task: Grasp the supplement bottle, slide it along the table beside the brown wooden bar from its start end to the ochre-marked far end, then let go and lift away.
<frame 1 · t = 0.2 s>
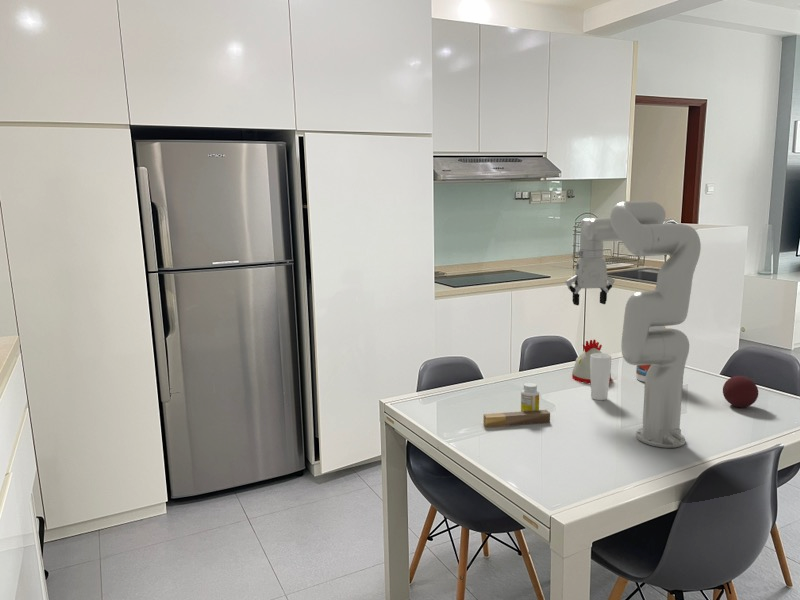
hand: (589, 304, 206), 31 cm above the table, fingers open, 9 cm apart
supplement bottle: (529, 416, 187), on the table
white and red dome: (591, 379, 225), on the table
drinking glass: (599, 398, 202), on the table
fruit juice: (649, 380, 222), on the table
brown wooden bar: (516, 423, 181), on the table
decorative ball: (739, 407, 192), on the table
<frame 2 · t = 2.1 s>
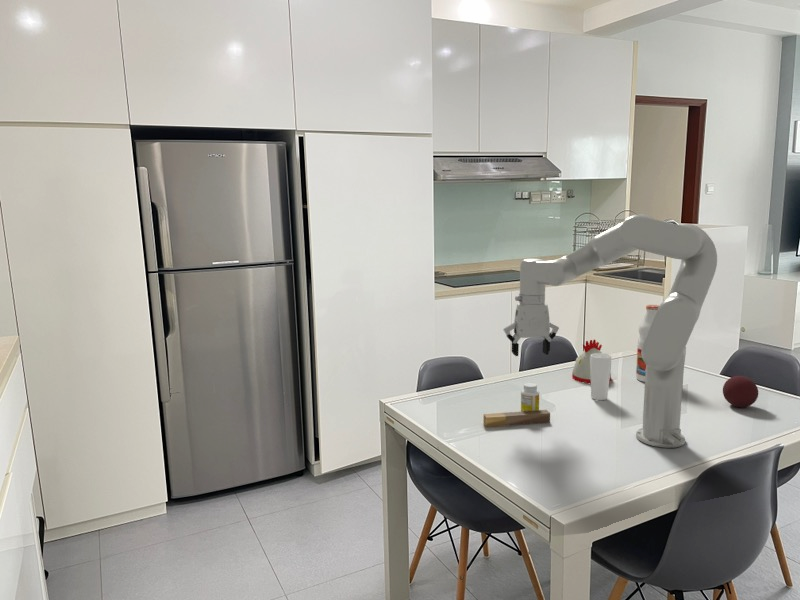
hand: (530, 354, 184), 20 cm above the table, fingers open, 9 cm apart
nothing on the table moved.
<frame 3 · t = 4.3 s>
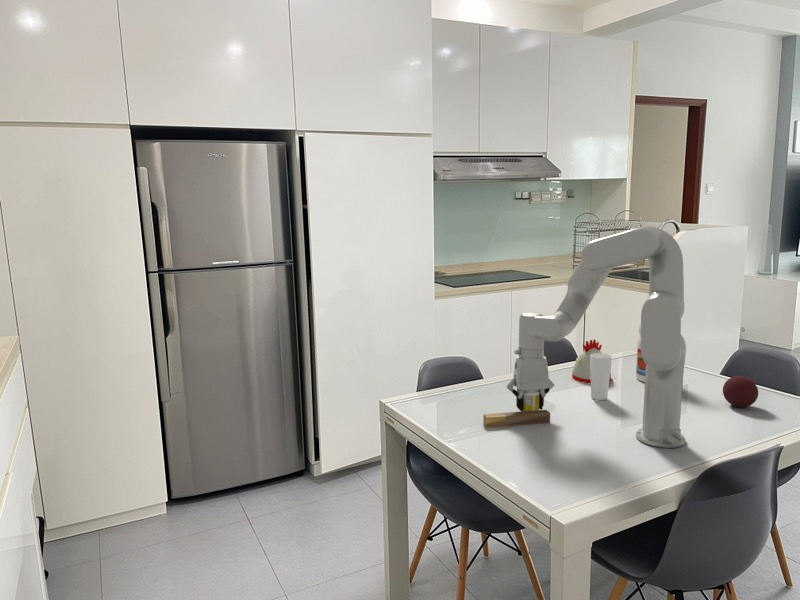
hand: (529, 408, 186), 3 cm above the table, fingers closed on supplement bottle, 5 cm apart
supplement bottle: (529, 416, 187), on the table, touching gripper
everything else where it was.
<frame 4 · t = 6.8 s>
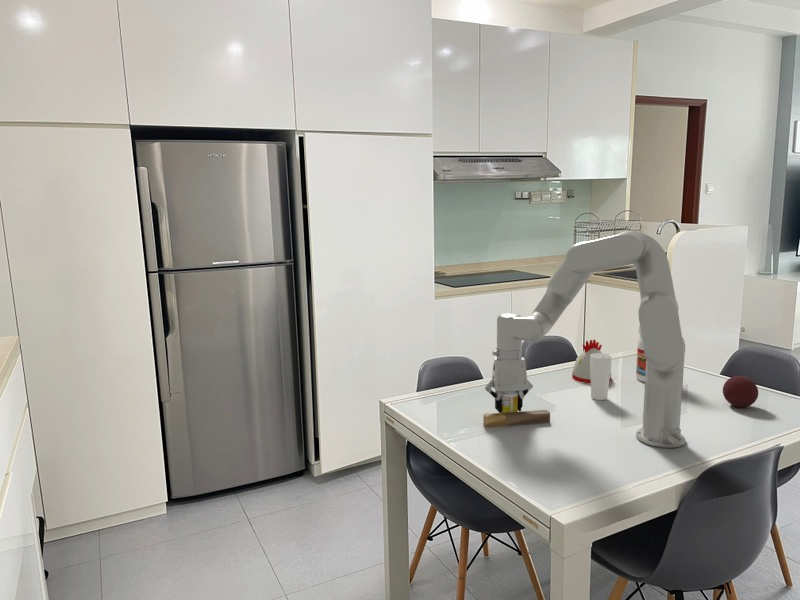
hand: (508, 409, 185), 2 cm above the table, fingers closed on supplement bottle, 5 cm apart
supplement bottle: (508, 418, 186), on the table, touching gripper
everything else where it was.
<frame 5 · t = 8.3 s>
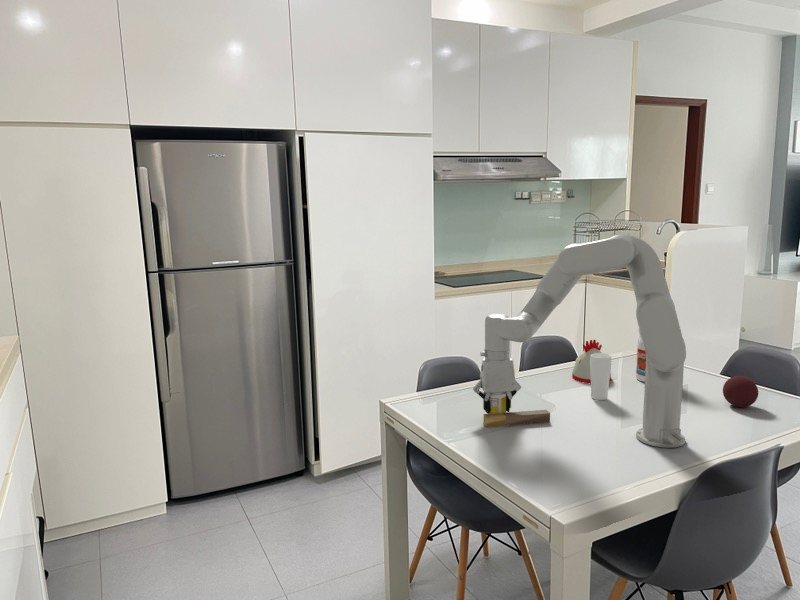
hand: (497, 410, 185), 2 cm above the table, fingers closed on supplement bottle, 5 cm apart
supplement bottle: (496, 418, 185), on the table, touching gripper
everything else where it was.
when the fingers open (2 cm above the table, at t = 8.9 s): supplement bottle stays where it is, on the table.
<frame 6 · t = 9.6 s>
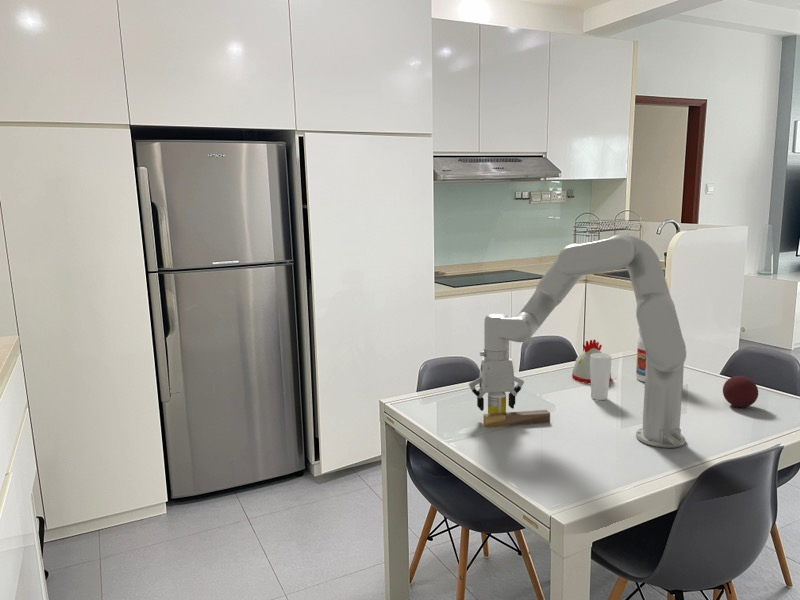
hand: (496, 408, 184), 3 cm above the table, fingers open, 9 cm apart
supplement bottle: (496, 418, 185), on the table
everything else where it was.
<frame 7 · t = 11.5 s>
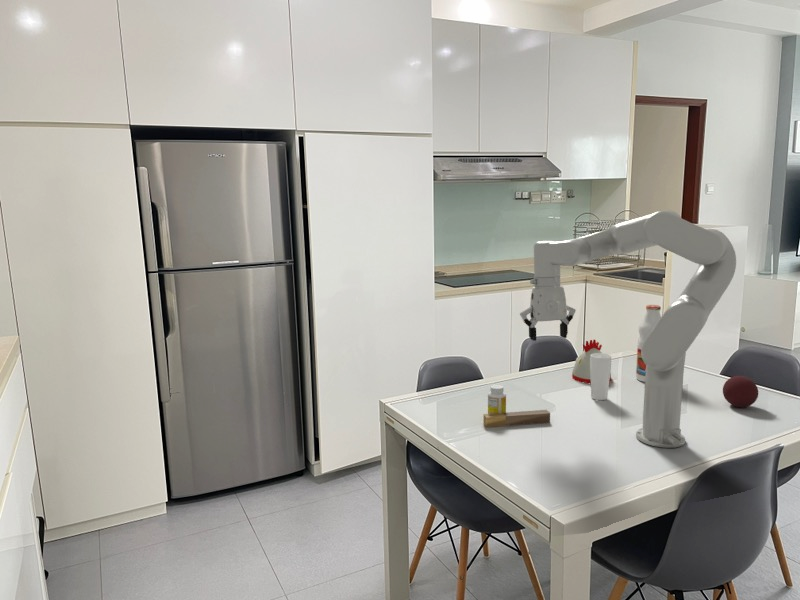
hand: (548, 338, 180), 25 cm above the table, fingers open, 9 cm apart
nothing on the table moved.
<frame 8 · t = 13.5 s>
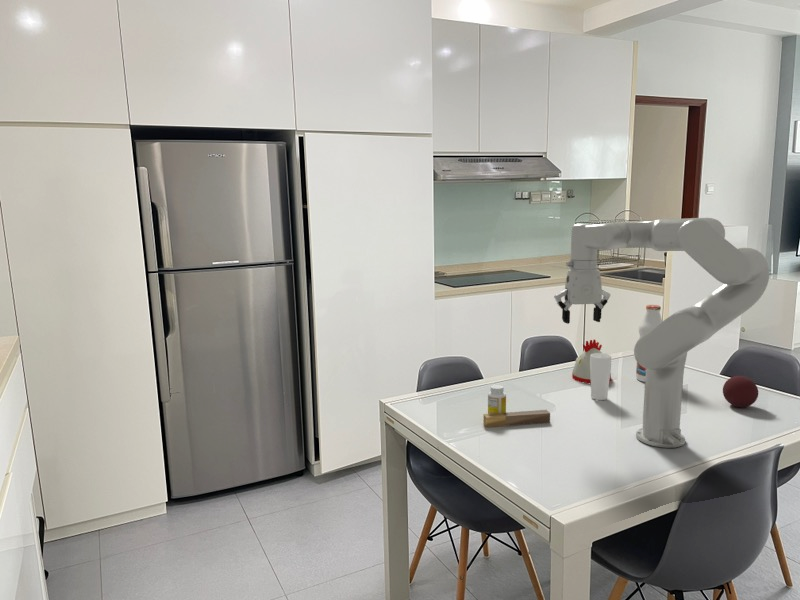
hand: (581, 322, 179), 30 cm above the table, fingers open, 9 cm apart
nothing on the table moved.
at the end: supplement bottle 0.6 cm from the target spot, on the table; supplement bottle tilted 0°; the gripper is holding nothing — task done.
